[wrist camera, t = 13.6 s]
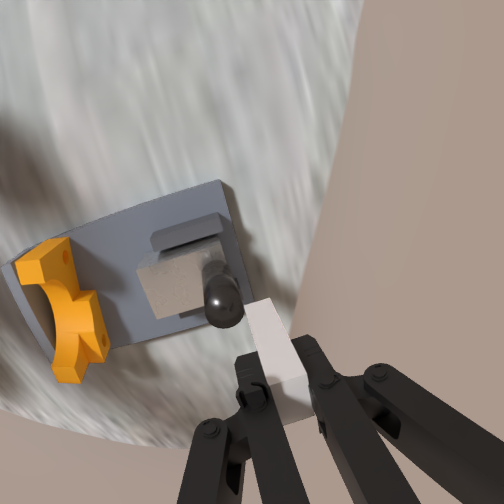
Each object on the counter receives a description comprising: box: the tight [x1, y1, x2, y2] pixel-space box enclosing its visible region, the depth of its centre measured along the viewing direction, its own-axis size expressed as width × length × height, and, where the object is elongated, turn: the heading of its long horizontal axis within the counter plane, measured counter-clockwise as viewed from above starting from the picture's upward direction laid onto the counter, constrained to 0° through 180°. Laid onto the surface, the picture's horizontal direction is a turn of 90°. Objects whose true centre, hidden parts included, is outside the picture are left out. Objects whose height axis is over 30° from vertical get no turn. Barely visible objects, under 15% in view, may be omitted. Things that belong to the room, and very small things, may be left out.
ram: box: [136, 233, 244, 329], centre depth 23 cm, size 7×5×10 cm, turn 105°
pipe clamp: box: [15, 237, 111, 384], centre depth 23 cm, size 12×4×6 cm, turn 2°
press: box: [0, 179, 255, 364], centre depth 26 cm, size 22×13×6 cm, turn 104°
